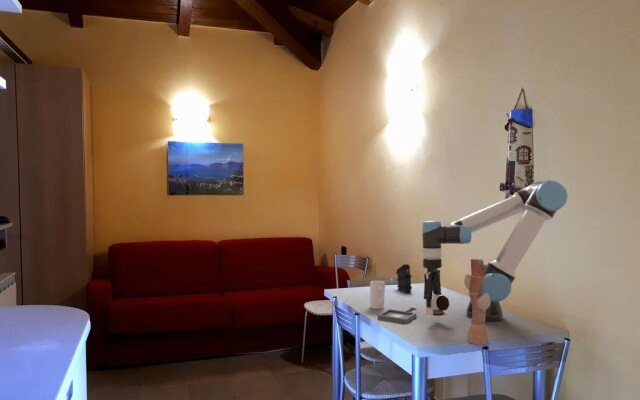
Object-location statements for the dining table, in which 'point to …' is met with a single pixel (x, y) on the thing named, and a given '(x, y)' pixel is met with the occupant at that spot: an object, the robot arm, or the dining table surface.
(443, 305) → the compass
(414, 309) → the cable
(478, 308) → the brown tall piece
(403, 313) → the grey square tray
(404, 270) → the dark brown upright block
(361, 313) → the dining table surface
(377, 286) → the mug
